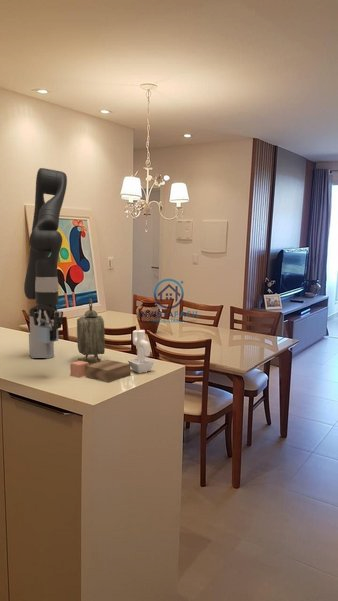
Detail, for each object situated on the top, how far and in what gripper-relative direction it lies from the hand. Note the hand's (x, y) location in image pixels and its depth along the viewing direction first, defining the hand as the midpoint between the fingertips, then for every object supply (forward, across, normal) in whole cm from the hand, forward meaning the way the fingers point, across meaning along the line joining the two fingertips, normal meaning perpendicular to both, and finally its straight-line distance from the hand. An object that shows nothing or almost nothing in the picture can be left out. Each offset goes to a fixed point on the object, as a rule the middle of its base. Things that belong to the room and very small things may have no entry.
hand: (47, 339), depth 156 cm
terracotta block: (+13, +7, +8) cm, 17 cm away
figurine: (+13, +20, +26) cm, 35 cm away
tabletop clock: (+14, -5, +24) cm, 28 cm away
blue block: (+1, 0, 0) cm, 1 cm away
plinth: (+13, +16, +14) cm, 24 cm away
